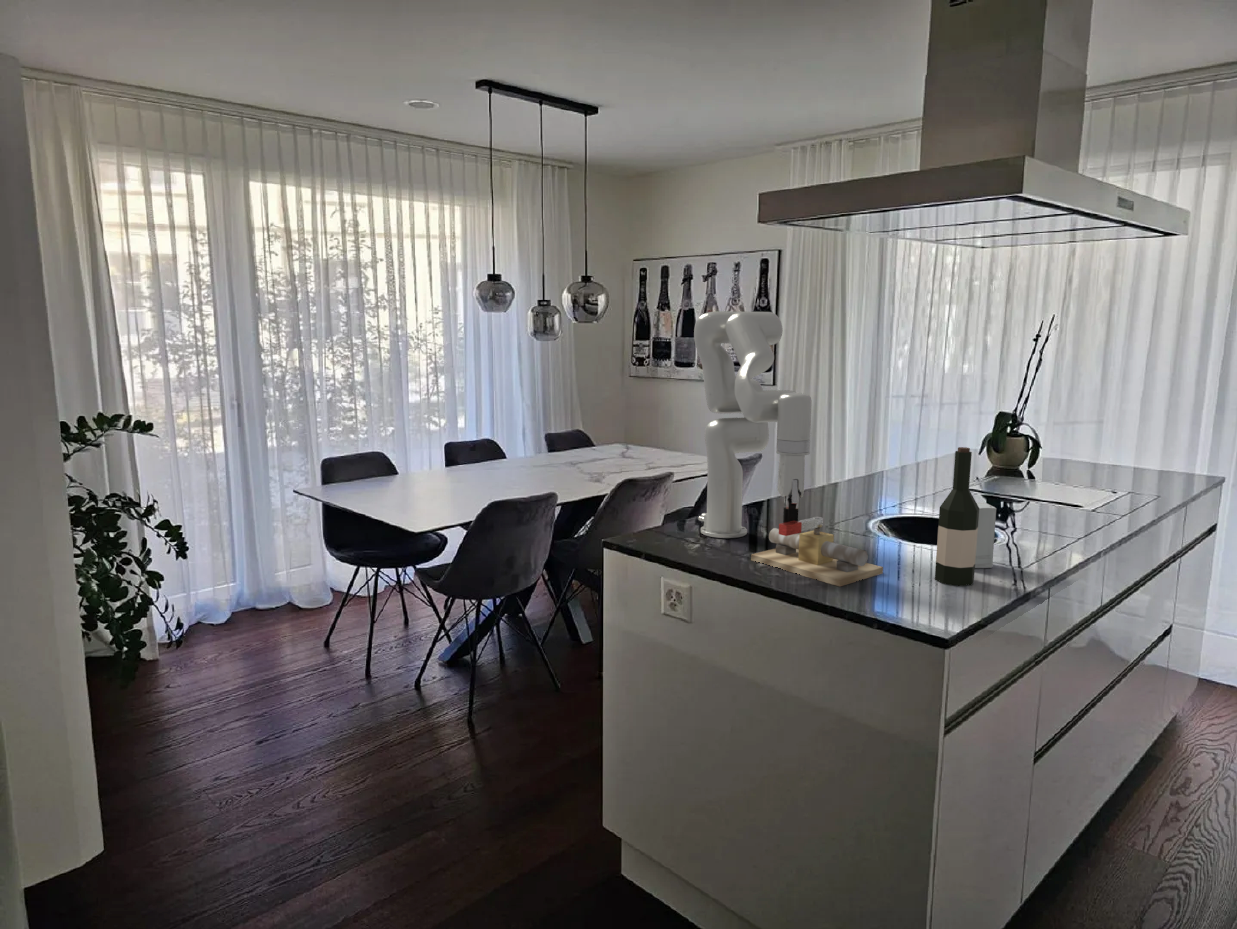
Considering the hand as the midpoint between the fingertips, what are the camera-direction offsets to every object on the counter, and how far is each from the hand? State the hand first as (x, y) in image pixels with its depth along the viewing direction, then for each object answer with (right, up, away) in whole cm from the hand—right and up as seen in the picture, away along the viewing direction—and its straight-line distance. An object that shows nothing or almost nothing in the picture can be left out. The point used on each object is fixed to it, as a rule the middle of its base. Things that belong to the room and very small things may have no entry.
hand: (790, 524), depth 194 cm
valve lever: (+2, -1, -3) cm, 4 cm away
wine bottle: (+35, -12, -8) cm, 38 cm away
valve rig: (+6, -10, +2) cm, 12 cm away
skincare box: (+43, -10, +3) cm, 45 cm away
